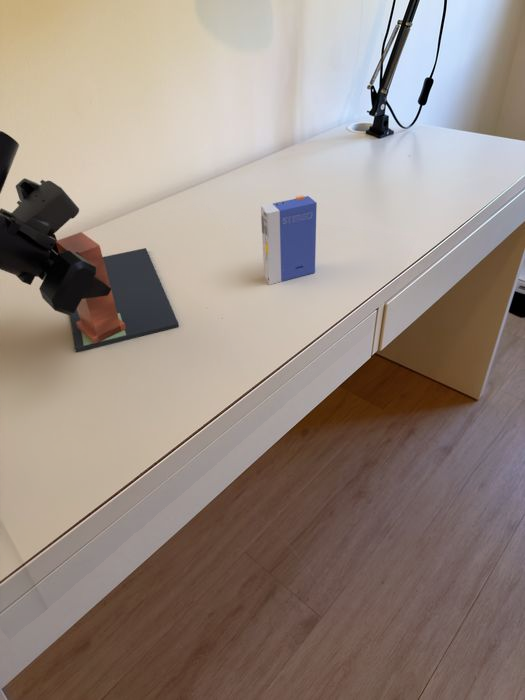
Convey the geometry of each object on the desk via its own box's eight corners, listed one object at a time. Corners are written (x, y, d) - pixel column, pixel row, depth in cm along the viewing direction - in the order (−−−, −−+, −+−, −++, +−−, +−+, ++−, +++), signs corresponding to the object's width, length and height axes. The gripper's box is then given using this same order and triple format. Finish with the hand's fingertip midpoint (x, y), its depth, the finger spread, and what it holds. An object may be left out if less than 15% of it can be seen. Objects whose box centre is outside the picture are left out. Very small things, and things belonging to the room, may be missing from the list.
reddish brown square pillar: (94, 344, 70) (67, 256, 62) (77, 328, 73) (50, 242, 65) (126, 329, 72) (104, 243, 64) (109, 314, 75) (86, 230, 67)
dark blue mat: (179, 326, 73) (178, 321, 73) (76, 352, 70) (74, 347, 69) (146, 250, 91) (145, 246, 90) (63, 268, 87) (61, 263, 87)
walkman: (307, 265, 85) (308, 193, 77) (315, 273, 83) (316, 200, 75) (262, 276, 83) (258, 203, 75) (269, 284, 81) (266, 211, 73)
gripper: (53, 191, 50) (168, 254, 62) (-13, 147, 61) (96, 208, 74) (-1, 292, 51) (123, 335, 64) (-55, 231, 63) (59, 277, 75)
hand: (99, 283), depth 69 cm, fingers closed on reddish brown square pillar, 5 cm apart
